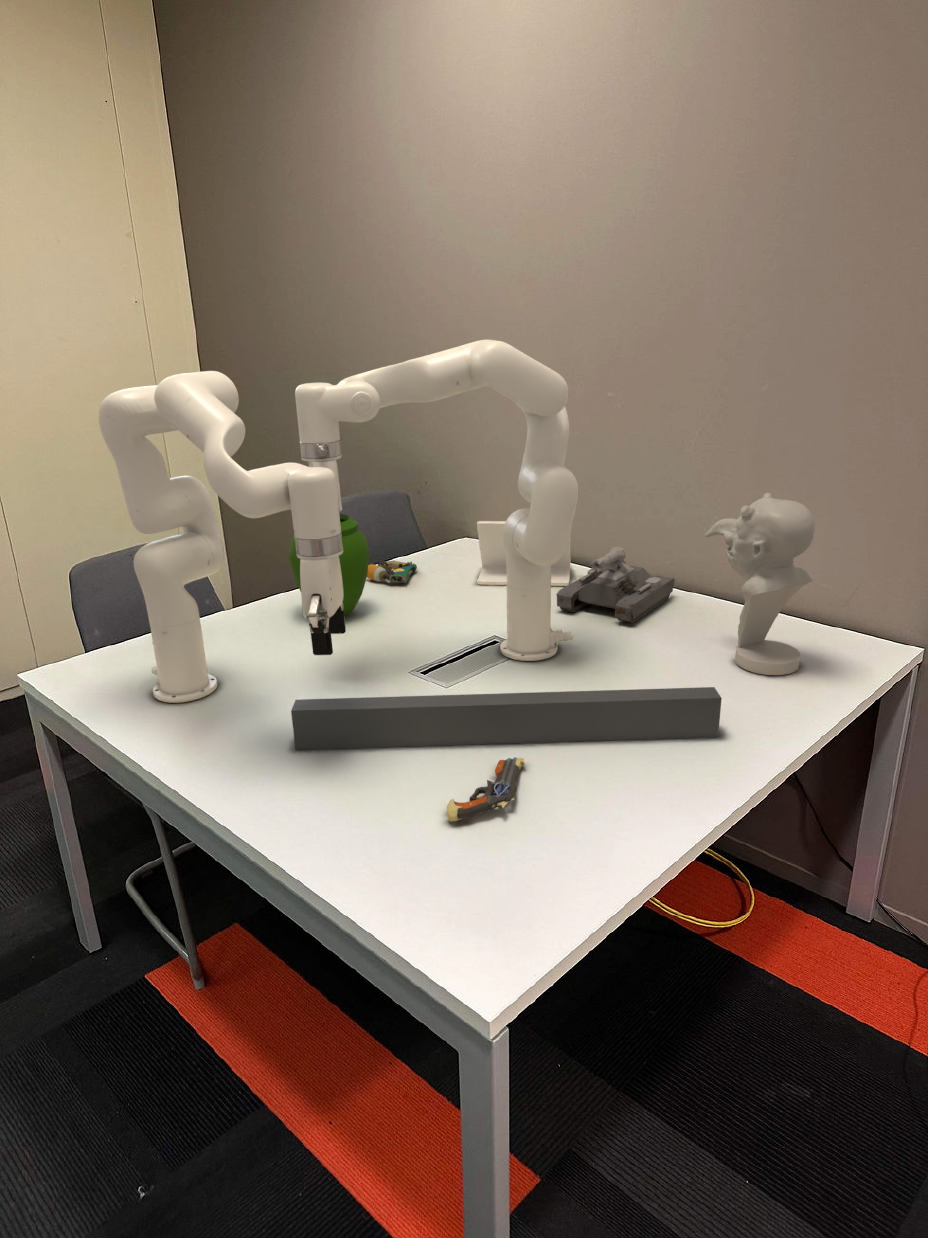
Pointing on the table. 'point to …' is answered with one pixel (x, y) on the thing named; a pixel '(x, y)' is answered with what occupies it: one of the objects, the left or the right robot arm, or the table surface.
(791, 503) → the bust sculpture
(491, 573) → the tablet stand
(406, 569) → the spray gun
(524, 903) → the table surface
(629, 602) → the toy
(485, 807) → the toy gun
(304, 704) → the post
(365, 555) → the vase
